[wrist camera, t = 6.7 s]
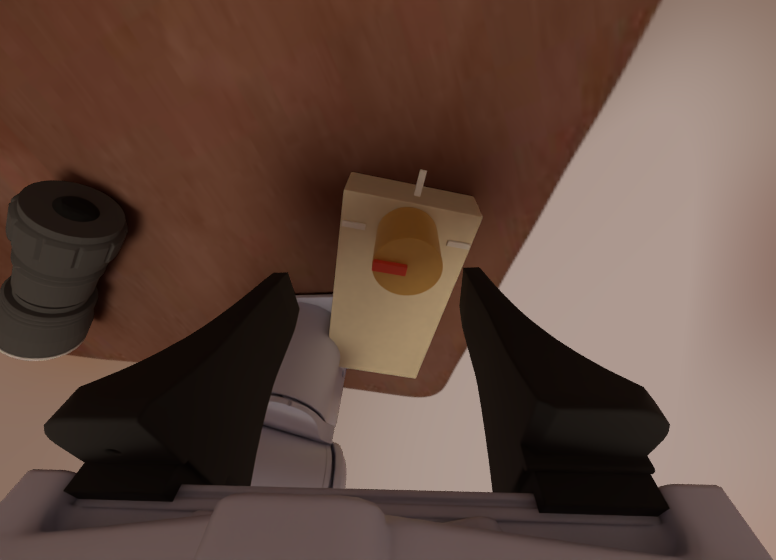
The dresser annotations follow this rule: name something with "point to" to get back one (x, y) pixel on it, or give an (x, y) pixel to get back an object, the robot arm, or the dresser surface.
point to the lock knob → (407, 252)
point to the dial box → (371, 301)
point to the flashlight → (56, 266)
